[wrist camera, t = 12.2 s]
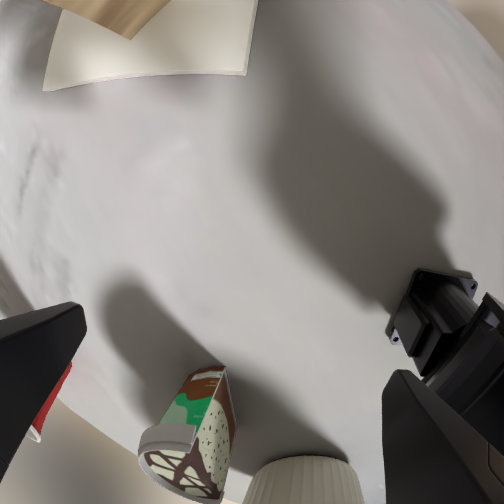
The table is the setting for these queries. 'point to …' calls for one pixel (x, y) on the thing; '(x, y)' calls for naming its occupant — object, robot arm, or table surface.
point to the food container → (193, 439)
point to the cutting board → (154, 44)
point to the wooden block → (115, 13)
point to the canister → (305, 482)
